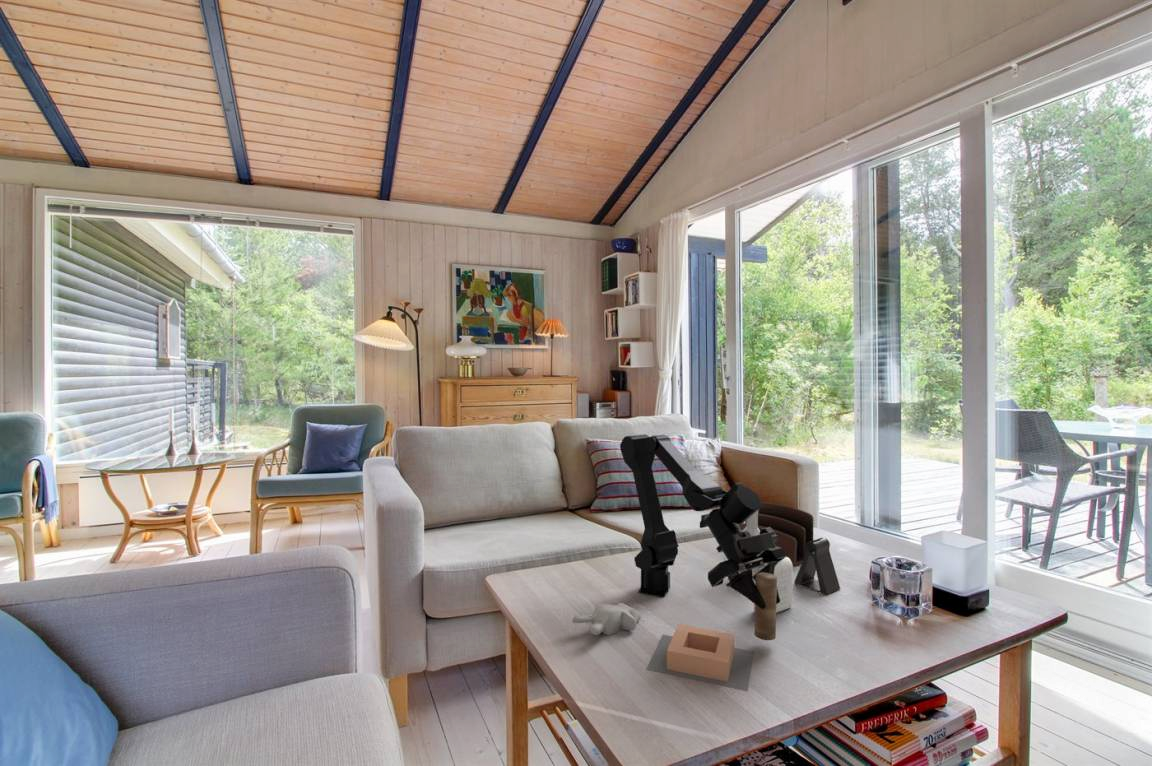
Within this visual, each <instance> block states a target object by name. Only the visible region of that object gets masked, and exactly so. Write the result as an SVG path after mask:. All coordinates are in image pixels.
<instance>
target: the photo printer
mask: <svg viewBox="0 0 1152 766" xmlns="http://www.w3.org/2000/svg"><path fill="white" fill-rule="evenodd" d="M793 570H794V566H793V565H792V562H791V560H790V559H789V558H788V557H785V558H784V559H783V560H781V561H780V562H779V563H777V565H776V566H775V569H774V575H775V576H776V577H777V590H778V594H779V598H780V602H779V603H778V604H776V614H777V613H779V612H782V611H785V610H787V609H789V608H792V607H793V606H792V605H793V578H794V577H793V575H794V574H793V572H794V571H793ZM754 583H755V585H756V581H755V580H754ZM753 610H754V611H755V604H754V603H753Z"/></svg>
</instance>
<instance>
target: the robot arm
mask: <svg viewBox="0 0 1152 766" xmlns="http://www.w3.org/2000/svg"><path fill="white" fill-rule="evenodd" d="M619 449H620V452H621V455H622V459H623V461H624V463H625V464H626V465H627V467H628V468H629V469H630V471H631V472H632V476H633V479H634V483H635V488H636V489H635V490H636V493H637V498H638V503H639V507H640V512H641V516H642V521H643V525H644V529H643V530H644V531H643V534H642V537H641V540H640V543H641V550H640V551H639V552H638V553H637V554H636V555H635V556H634V565H635V567H637V568H638V569H640V588H639V589H638V593H639V594H643V595H649V596H656V597H665V596H666V595H667V593H668V592H669V591H670V589H671V572H670V571H669V567H670V566H674V563H675V561H676V558H677V555H679V549H678V548H679V544H678V540H677V536H676V535H677V534H676V532H675V530H674V529H673V530H670V529H669V528H668V527H667V526H666V523H665V521H664V516H663V512H662V508H661V503H660V498H659V494H658V493H659V492H658V489H657V485H656V481H655V480H656V479H655V476H654V472H653V464H654V460H655V457H656V458H657V459H658V460H659V461H660V462H661V464H662V465H664V467H665V468H666V469H667V470H668V471H669V473H670V474H671V475H672V477H674V479H675V480H676V481H677V482H678V484H679V485H680V486H681V488H682V489H681V490H682V495H683V497H684V499H685V501H686V502H687V504H688V505H689V507H690V509H692V510H693V511H695V512H704V511H709V512H708V513H706V514H705V513H704V514H702V515H700V522H699V528H700V529H704V528H707V527H708V529H709V531H710V532H711V533H712V535H713V537H714V539H715V541H716V542H717V544H718V545H717V547H716V550H717V553H721V552H723V554H724V556H725V558H726V560H723V561H721V562H719V563H718V564H716V565H715V566H714V567H712V569H710V570H709V571H708V572H707V580H708V582H709V584H710V586H711V587H712V588H715V587H719V586H722V585H723V584H724V579H725V578H727V580H728V581H729V582H728V583H726V584H725V586H726V587H727V588H729V587H730V588H732V589H733V590H735V591H736V592H738V593H739V594H741V595H742V596H744V597H745V598H746V599H748V600H749V601H750V602H752V603H753V605H754V604H756V605H757V606H758V607H760V608H761V609H764V608H766V604H765V602H764V600H763V598H762V596H761V594H760V593H759V591H758V589H757V587H756V585H755V583H754V582H753V579H754V580H755V581H756V574H757V573H770V574H773V575H774V569H775V566H776V565H777V563H779V562H780V561H781V560H783V559H784V558H785V557H787V555H786V554H785V552H784V551H783V549H782V548H781V547H778V546H775V542H777V538H778V537H777V535H776V534H775V532H774V531H773V530H772V528H771V527H768V528H764V529H760V534H759V535H755V536H751V535H750V533H749V532H747V531H744V532H742V530H741V529H740V527H739V525H738V524H743V523H745V521H746V520H747V519H749V518H750V517H751V516H752V515H753V514H754V513H755V512H756V511H758V510H759V509H760V507H761V502H762V500H761V498H760V496H759V495H758V493H756V492H755V491H753V490H752V489H751V488H750V487H746V486H744V484H743V482H736V483H734V484H733V485H732V486H731V487H730V489H729V490H728V491H727V490H725V489H723V488H722V486H721V485H720V484H719V483H717V482H716V481H715V480H714V479H712V478H711V477H709V476H708V475H705V474H703V473H700V472H699V471H698V470H697V469H696V468H695V467H694V466H693V465H692V464H691V463H690V462H689V460H688V459H687V458H686V457H685V456H684V455H683V454H682V452H681V451H680V450H679V449H678V448H677V447H676V446H675V444H673V443H672V440H671V438H670V437H669V436H668V435H666V434H658V435H657V434H656V435H651V436H650V435H648V434H637V435H626V436H624V437H623V438H622V440H621V442H620V444H619ZM710 510H711V511H710ZM759 554H760V555H759ZM757 555H758V556H757ZM750 564H751V565H750ZM752 569H753V571H754V572H755V575H754V576H752ZM752 578H753V579H752ZM779 602H780V598H779V594H778V590H777V596H776V604H778V603H779Z"/></svg>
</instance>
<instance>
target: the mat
mask: <svg viewBox="0 0 1152 766" xmlns="http://www.w3.org/2000/svg"><path fill="white" fill-rule="evenodd" d="M672 638H673V635H668V634H662V635H661V638H660V640H659V641H658V644H657V646H656V648H655V650H654V652H653V654H652V656H651V658H650V661H649V663H648V665H647V667H646V670H647V671H652V672H656V673H660V674H666V675H670V676H674V677H678V678H679V677H680V678H684V679H690V680H694V681H697V682H698V681H699V682H704V683H708V684H712V685H713V684H714V685H718V686H720V687H721V686H722V687H726V688H727V687H728V688H732V689H737V690H741V691H745V692H748V691H749V685H750V684H749V683H750V679H751V678H750V677H751V672H752V671H751V670H752V665H753V664H752V663H753V656H754V655H753V654H754V651H753V650H747V649H742V648H737V647H734V654H733V659H732V664H731V669H730V674H729V679H728V682H726V681H722V680H717V679H712V678H707V677H702V676H698V675H693V674H688V673H683V672H678V671H674V670H669V669H667V649H668V647H669V645H670V642H671V640H672Z"/></svg>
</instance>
